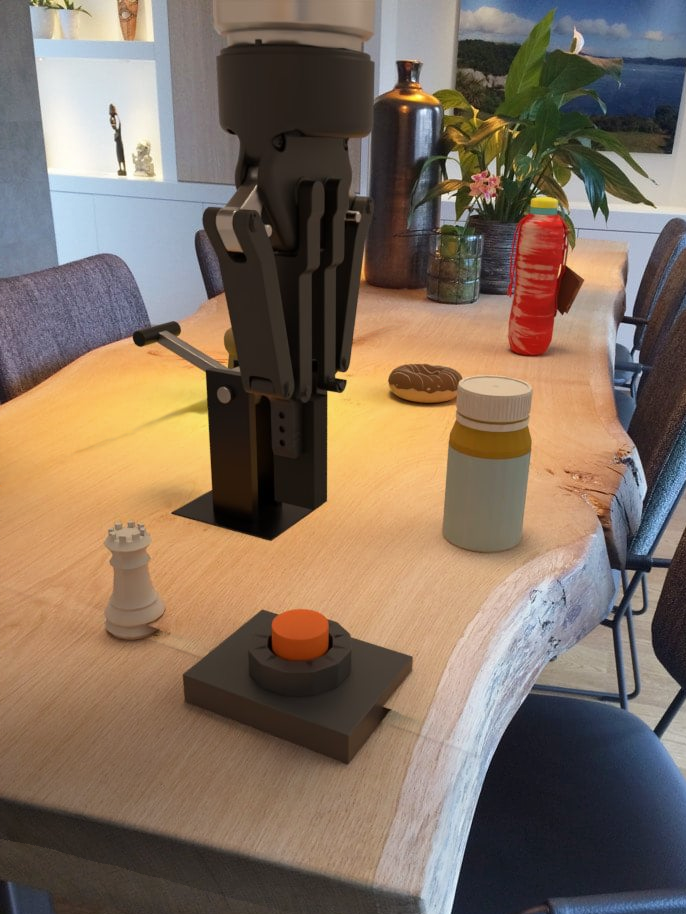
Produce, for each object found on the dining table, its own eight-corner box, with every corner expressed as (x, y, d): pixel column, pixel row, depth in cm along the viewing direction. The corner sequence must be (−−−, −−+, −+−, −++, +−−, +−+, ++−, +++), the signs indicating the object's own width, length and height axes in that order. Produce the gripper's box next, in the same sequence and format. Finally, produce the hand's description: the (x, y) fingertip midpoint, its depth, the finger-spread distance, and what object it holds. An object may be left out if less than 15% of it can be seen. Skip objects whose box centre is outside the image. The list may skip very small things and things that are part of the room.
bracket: (171, 525, 77) (159, 369, 71) (229, 491, 84) (222, 347, 78) (271, 553, 72) (267, 389, 66) (323, 515, 80) (323, 364, 74)
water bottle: (565, 347, 146) (585, 196, 136) (577, 358, 139) (598, 200, 128) (498, 345, 146) (512, 194, 135) (505, 356, 138) (521, 198, 128)
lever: (129, 347, 74) (134, 323, 73) (166, 336, 78) (172, 313, 77) (236, 413, 71) (243, 389, 70) (268, 399, 75) (276, 376, 74)
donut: (394, 407, 111) (395, 378, 109) (381, 385, 121) (382, 358, 119) (471, 406, 113) (473, 377, 111) (452, 384, 122) (454, 357, 121)
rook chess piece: (152, 646, 59) (143, 546, 56) (94, 638, 60) (81, 539, 56) (177, 613, 63) (169, 518, 60) (122, 606, 64) (111, 512, 60)
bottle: (457, 523, 79) (469, 369, 73) (529, 539, 76) (547, 381, 70) (429, 553, 73) (440, 389, 67) (505, 572, 70) (523, 402, 64)
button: (260, 652, 52) (260, 629, 52) (291, 625, 55) (291, 603, 55) (309, 669, 51) (310, 645, 50) (338, 640, 54) (338, 617, 53)
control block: (184, 702, 53) (180, 650, 52) (262, 634, 61) (261, 587, 59) (348, 765, 48) (349, 710, 47) (411, 683, 56) (414, 633, 54)
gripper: (289, 28, 32) (296, 561, 42) (423, 57, 43) (405, 476, 53) (140, 32, 35) (178, 529, 45) (300, 59, 46) (304, 455, 56)
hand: (300, 500), depth 49 cm, fingers closed
